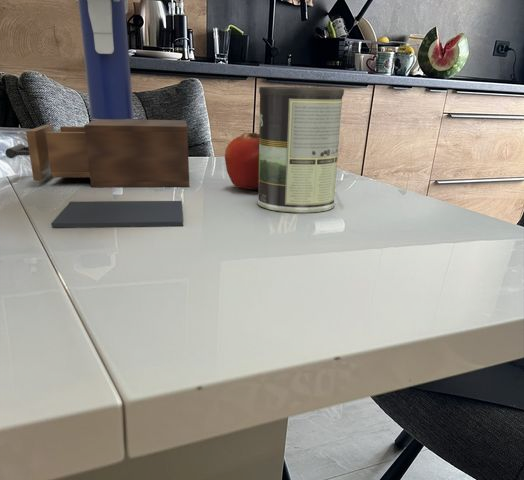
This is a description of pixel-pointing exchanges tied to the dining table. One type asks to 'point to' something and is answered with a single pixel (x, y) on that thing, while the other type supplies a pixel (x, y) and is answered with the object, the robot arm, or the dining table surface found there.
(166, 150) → the cabinet
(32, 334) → the dining table surface
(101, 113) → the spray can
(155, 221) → the mat
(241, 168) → the tomato
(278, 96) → the coffee can
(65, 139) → the drawer
